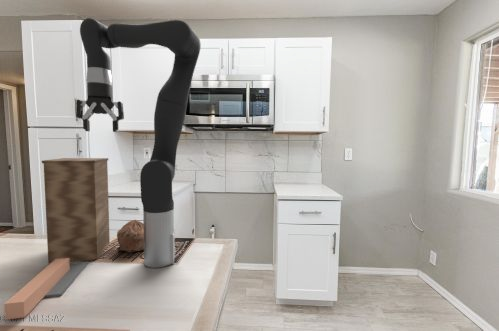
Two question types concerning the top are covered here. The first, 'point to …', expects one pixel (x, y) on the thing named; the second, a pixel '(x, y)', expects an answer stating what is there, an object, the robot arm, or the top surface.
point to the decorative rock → (131, 236)
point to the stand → (76, 208)
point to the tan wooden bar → (36, 289)
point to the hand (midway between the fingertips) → (101, 131)
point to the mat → (66, 279)
